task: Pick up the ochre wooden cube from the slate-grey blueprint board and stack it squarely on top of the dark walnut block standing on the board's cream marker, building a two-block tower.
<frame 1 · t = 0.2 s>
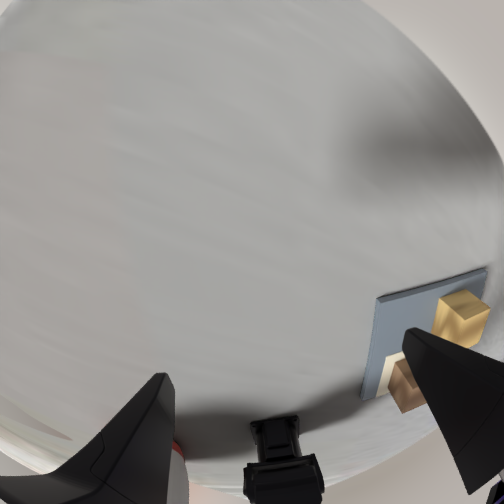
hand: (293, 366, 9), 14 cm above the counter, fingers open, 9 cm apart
blueprint board: (426, 336, 28), on the counter
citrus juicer: (151, 442, 33), on the counter
ochre block: (448, 310, 26), point 1 cm above the counter, touching blueprint board
walnut block: (406, 369, 29), point 1 cm above the counter, touching blueprint board
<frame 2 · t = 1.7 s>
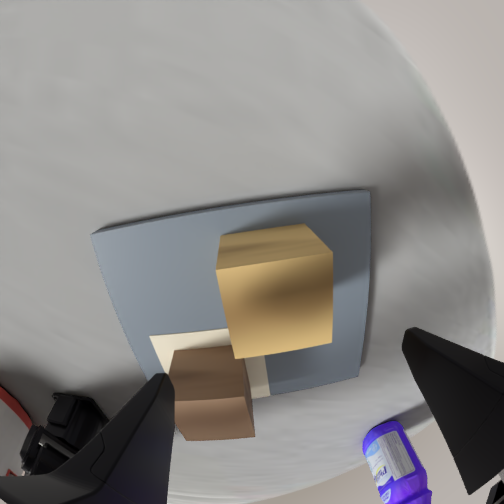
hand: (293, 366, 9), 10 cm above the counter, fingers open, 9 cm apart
blueprint board: (244, 317, 19), on the counter
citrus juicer: (10, 403, 24), on the counter
ochre block: (267, 268, 17), point 1 cm above the counter, touching blueprint board
bottle: (379, 431, 28), on the counter
walnut block: (214, 371, 19), point 1 cm above the counter, touching blueprint board
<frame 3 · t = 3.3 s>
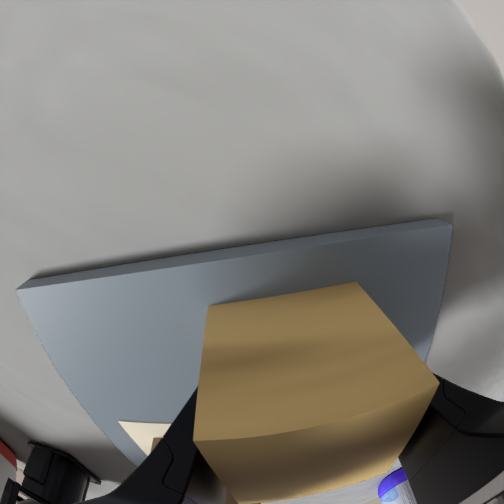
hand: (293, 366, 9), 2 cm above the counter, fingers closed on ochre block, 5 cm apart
blueprint board: (249, 402, 12), on the counter
ochre block: (289, 351, 10), point 1 cm above the counter, touching blueprint board, gripper
bottle: (396, 473, 21), on the counter
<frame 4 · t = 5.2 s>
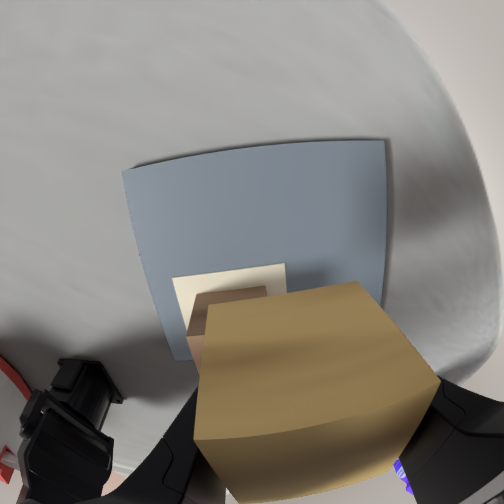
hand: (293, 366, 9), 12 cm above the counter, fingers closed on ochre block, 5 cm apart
blueprint board: (268, 259, 20), on the counter
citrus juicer: (11, 378, 25), on the counter
ochre block: (290, 350, 10), point 11 cm above the counter, touching gripper
walnut block: (235, 318, 20), point 1 cm above the counter, touching blueprint board
when the fingers open (8 cm above the counter, at t = 7.1 s): ochre block stays where it is, resting on walnut block.
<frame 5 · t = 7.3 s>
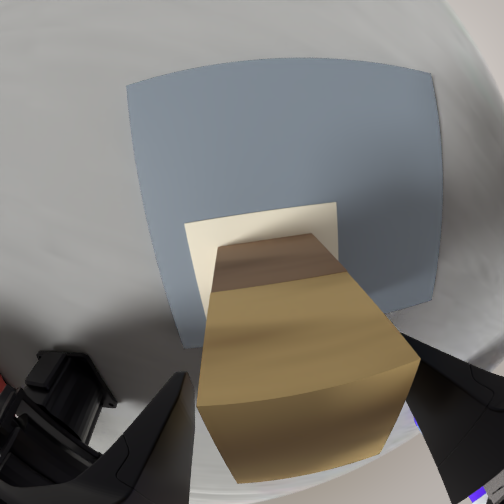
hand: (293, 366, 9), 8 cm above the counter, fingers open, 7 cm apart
blueprint board: (312, 200, 15), on the counter
ochre block: (285, 337, 10), point 6 cm above the counter, touching walnut block
walnut block: (270, 282, 15), point 1 cm above the counter, touching blueprint board, ochre block
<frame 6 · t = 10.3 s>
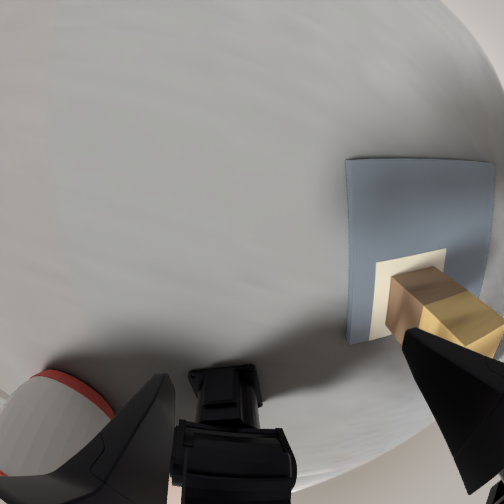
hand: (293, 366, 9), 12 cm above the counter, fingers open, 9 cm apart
blueprint board: (432, 245, 21), on the counter
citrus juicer: (82, 401, 26), on the counter
ochre block: (440, 325, 17), point 6 cm above the counter, touching walnut block
walnut block: (410, 295, 21), point 1 cm above the counter, touching blueprint board, ochre block
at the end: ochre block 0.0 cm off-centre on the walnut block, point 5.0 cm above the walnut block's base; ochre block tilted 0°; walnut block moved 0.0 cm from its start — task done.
